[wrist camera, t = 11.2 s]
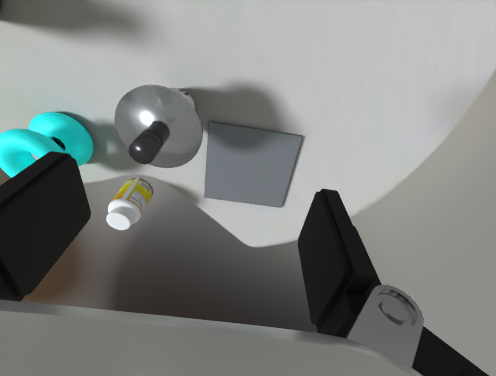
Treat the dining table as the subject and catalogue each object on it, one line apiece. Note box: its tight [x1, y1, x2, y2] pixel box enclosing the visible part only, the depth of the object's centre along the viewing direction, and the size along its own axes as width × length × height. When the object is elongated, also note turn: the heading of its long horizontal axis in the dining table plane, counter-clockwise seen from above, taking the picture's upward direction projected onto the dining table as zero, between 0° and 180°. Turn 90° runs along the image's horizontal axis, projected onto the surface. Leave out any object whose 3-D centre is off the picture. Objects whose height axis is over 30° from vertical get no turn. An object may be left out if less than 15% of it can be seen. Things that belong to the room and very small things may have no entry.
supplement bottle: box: [107, 177, 153, 230], centre depth 47 cm, size 6×6×10 cm
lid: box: [115, 85, 203, 168], centre depth 31 cm, size 11×11×7 cm
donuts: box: [0, 112, 93, 178], centre depth 41 cm, size 10×10×10 cm
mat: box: [204, 121, 302, 208], centre depth 48 cm, size 16×16×1 cm
